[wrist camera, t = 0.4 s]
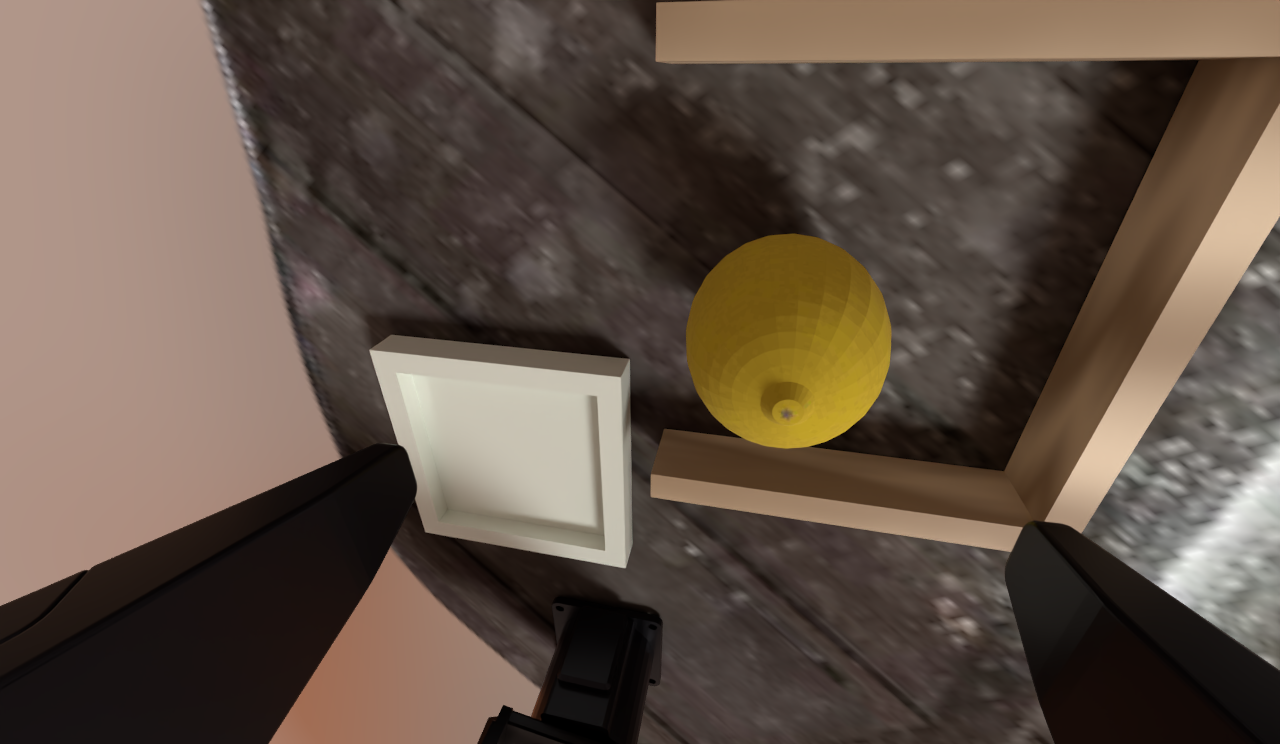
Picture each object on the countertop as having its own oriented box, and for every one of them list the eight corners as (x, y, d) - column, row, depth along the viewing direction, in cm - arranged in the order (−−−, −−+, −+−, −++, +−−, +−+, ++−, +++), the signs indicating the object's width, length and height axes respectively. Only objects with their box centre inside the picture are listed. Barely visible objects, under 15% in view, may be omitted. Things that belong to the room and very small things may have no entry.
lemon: (680, 239, 18) (628, 338, 11) (845, 182, 16) (904, 260, 9) (727, 370, 20) (708, 520, 13) (877, 335, 18) (945, 489, 11)
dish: (632, 544, 26) (625, 568, 25) (440, 511, 28) (425, 532, 27) (629, 359, 21) (621, 377, 19) (391, 334, 23) (369, 350, 21)
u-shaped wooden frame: (1026, 498, 20) (1064, 559, 17) (663, 450, 23) (650, 497, 20) (1287, -1, 12) (1427, -21, 9) (675, 15, 15) (656, 2, 12)
